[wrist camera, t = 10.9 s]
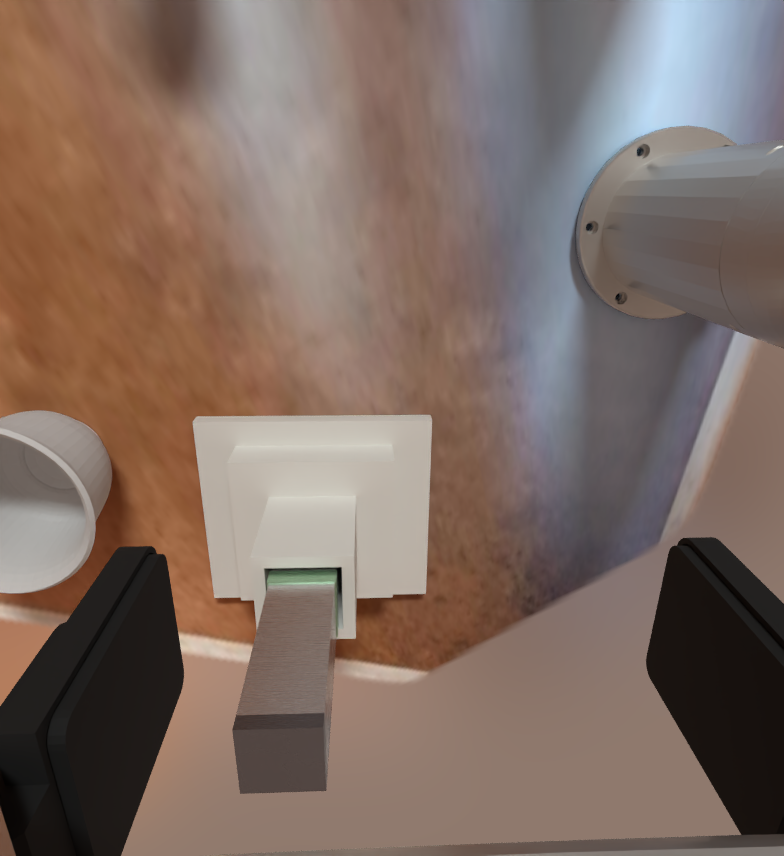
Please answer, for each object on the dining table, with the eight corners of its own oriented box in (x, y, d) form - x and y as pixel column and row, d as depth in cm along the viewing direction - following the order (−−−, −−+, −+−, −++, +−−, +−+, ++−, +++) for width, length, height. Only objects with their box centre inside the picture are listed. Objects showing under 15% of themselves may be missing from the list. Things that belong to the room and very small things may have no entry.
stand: (430, 414, 46) (452, 491, 34) (424, 585, 52) (441, 701, 40) (196, 416, 46) (137, 495, 34) (217, 589, 52) (173, 708, 40)
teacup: (-51, 497, 47) (-153, 572, 38) (24, 345, 43) (-70, 388, 34) (91, 567, 50) (30, 652, 41) (175, 432, 46) (127, 492, 37)
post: (340, 527, 42) (325, 725, 26) (341, 576, 44) (328, 792, 28) (280, 528, 42) (230, 728, 26) (283, 578, 43) (238, 795, 28)
